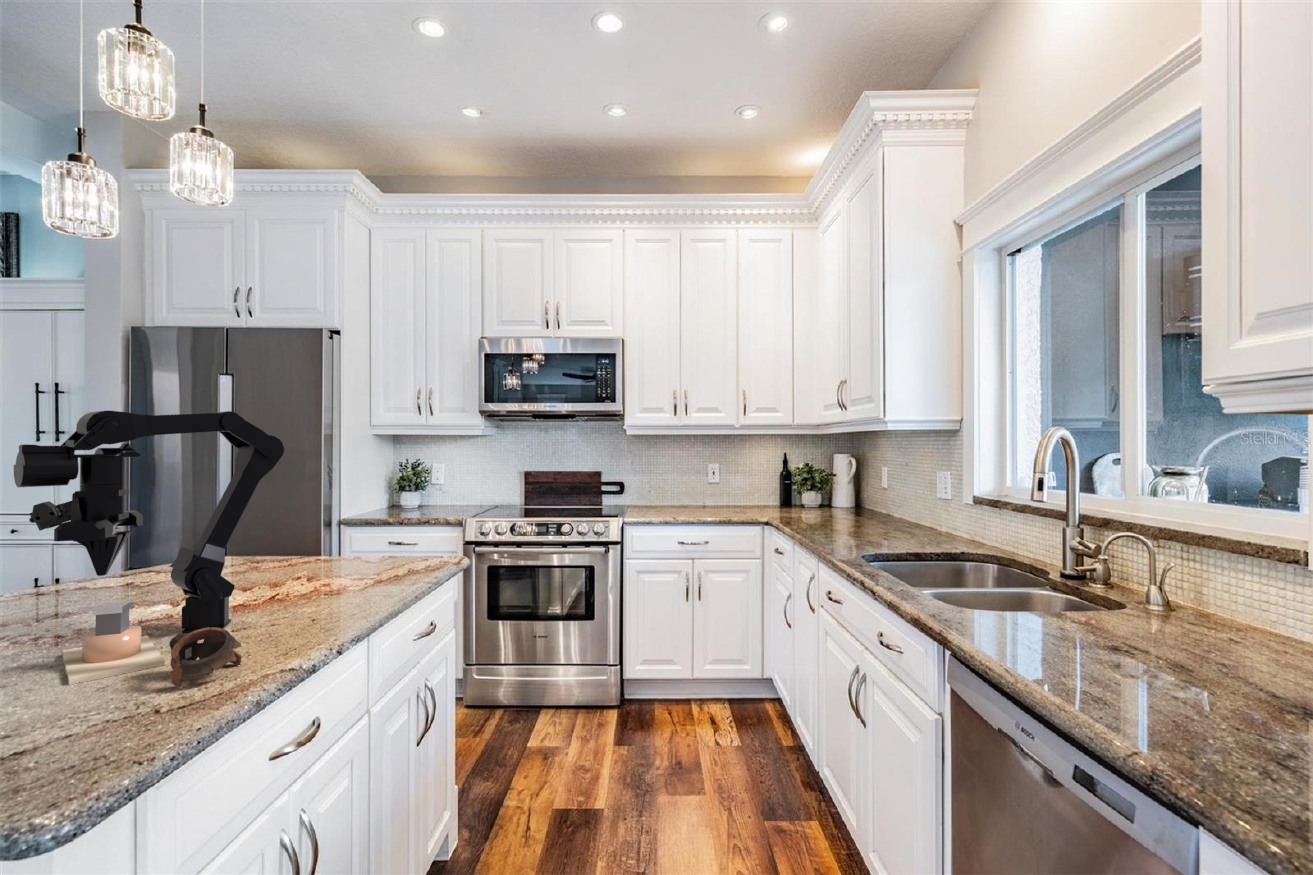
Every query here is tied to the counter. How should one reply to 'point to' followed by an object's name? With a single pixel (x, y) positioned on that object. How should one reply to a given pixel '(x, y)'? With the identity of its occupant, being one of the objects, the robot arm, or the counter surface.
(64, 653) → the birch board
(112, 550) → the robot arm
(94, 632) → the pump jar
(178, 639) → the brown ring stand
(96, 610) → the pump head
